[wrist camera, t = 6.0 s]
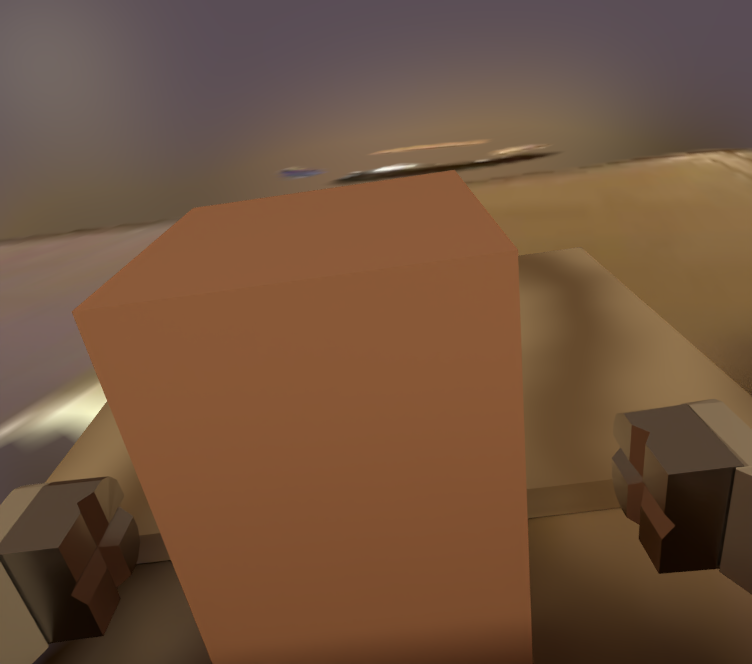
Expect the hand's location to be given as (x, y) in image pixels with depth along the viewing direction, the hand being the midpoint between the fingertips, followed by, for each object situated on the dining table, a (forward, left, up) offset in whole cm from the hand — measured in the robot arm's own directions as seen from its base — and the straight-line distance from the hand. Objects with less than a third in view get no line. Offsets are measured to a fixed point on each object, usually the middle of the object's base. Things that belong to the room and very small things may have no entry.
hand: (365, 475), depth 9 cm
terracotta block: (0, -1, -6) cm, 6 cm away
